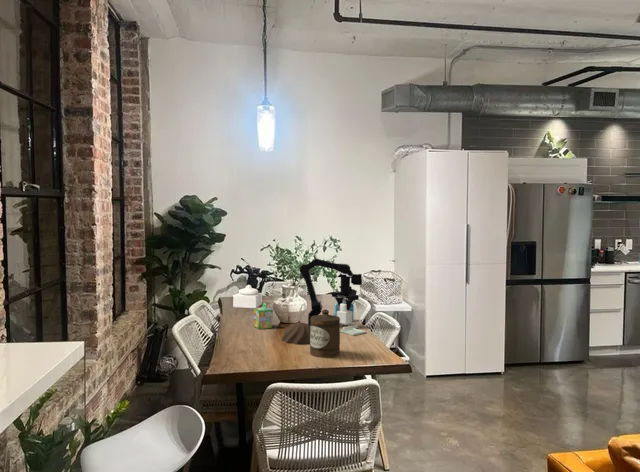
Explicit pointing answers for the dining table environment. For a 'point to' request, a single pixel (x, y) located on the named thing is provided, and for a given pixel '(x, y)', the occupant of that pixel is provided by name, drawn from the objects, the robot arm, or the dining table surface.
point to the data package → (337, 308)
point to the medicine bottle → (344, 314)
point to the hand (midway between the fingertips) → (344, 309)
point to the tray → (352, 331)
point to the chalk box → (263, 317)
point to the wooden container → (325, 335)
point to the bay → (350, 326)
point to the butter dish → (247, 298)
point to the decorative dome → (297, 334)
